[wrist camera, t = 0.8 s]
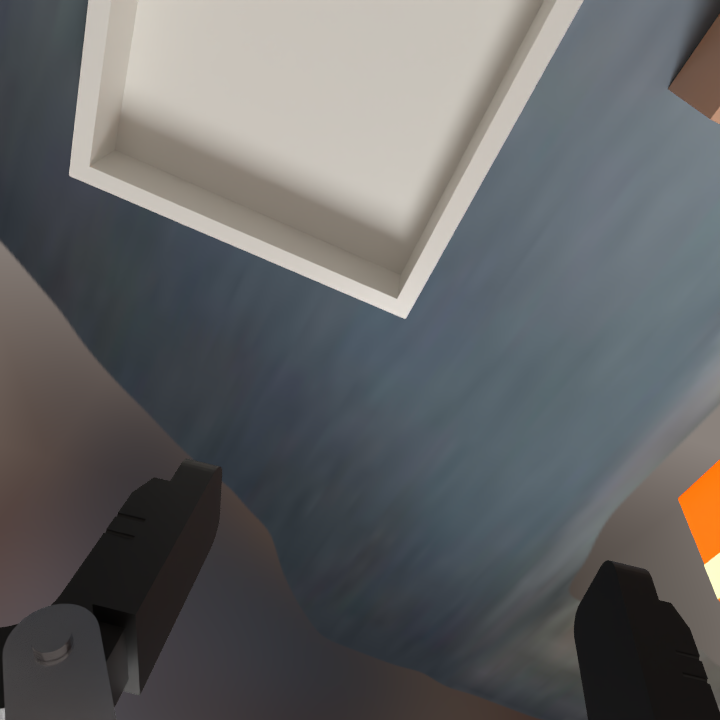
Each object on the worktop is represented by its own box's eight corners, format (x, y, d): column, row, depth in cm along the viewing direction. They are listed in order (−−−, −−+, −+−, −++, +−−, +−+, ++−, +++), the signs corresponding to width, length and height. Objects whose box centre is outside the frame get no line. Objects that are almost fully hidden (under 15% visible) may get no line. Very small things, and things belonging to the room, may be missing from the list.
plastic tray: (193, -461, 21) (147, -531, 18) (662, -184, 24) (696, -202, 21) (103, 153, 35) (68, 175, 32) (409, 286, 38) (405, 319, 35)
